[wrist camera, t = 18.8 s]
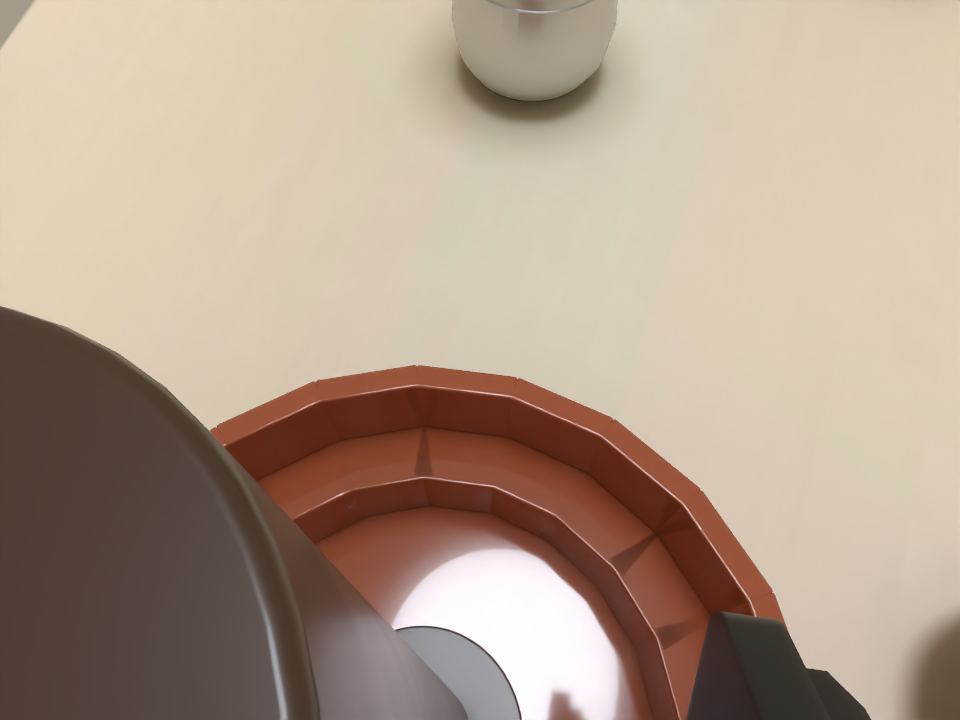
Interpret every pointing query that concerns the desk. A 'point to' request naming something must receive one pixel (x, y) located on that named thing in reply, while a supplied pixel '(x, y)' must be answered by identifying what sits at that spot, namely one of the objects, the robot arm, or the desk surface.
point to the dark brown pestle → (180, 570)
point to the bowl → (509, 530)
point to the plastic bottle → (533, 43)
